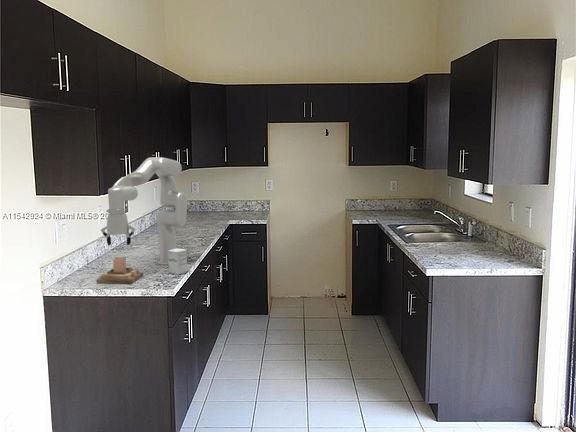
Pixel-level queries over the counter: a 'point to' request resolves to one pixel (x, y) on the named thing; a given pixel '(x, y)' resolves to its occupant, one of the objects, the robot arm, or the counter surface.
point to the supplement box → (177, 261)
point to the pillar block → (119, 264)
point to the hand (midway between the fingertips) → (119, 244)
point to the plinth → (109, 281)
